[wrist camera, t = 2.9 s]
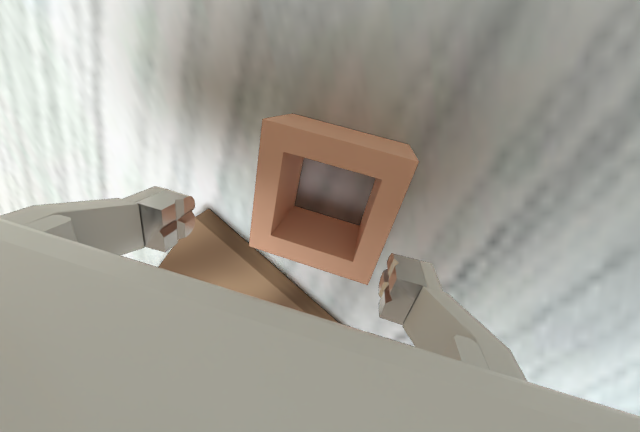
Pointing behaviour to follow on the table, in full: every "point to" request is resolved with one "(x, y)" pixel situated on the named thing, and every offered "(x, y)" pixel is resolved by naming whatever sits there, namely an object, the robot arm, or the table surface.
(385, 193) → the frame
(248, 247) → the post base
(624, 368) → the table surface
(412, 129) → the table surface
